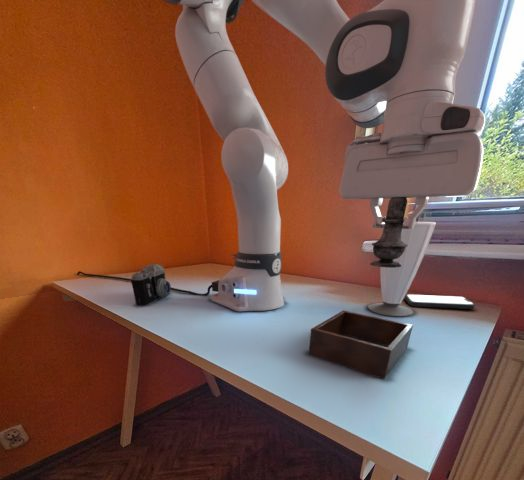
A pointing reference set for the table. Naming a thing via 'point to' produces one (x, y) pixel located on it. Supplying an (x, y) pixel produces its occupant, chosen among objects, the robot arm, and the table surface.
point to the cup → (403, 271)
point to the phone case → (439, 301)
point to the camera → (150, 285)
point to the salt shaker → (391, 235)
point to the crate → (360, 342)
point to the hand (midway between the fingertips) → (392, 228)
